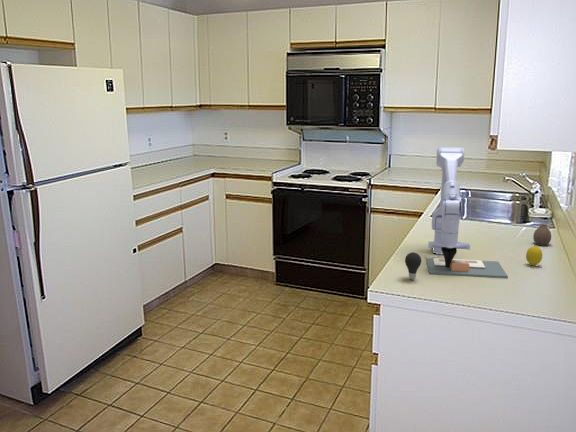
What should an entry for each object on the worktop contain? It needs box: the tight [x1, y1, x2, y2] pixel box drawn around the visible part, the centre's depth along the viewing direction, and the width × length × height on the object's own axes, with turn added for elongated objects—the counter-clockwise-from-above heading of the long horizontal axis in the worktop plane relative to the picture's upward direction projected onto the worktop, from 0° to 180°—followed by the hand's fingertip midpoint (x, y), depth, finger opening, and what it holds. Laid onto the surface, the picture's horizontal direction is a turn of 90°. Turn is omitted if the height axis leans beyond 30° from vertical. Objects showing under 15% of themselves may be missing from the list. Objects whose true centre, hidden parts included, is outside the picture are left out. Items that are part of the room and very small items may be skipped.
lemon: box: [525, 245, 543, 267], centre depth 191 cm, size 6×6×8 cm
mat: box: [425, 257, 509, 279], centre depth 189 cm, size 16×27×1 cm, turn 80°
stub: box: [450, 259, 469, 272], centre depth 186 cm, size 4×6×3 cm, turn 80°
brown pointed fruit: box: [532, 223, 552, 247], centre depth 217 cm, size 7×7×9 cm
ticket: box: [433, 257, 485, 269], centre depth 192 cm, size 8×18×1 cm, turn 79°
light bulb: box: [404, 252, 422, 280], centre depth 178 cm, size 6×6×10 cm
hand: (447, 266), depth 187 cm, fingers closed
